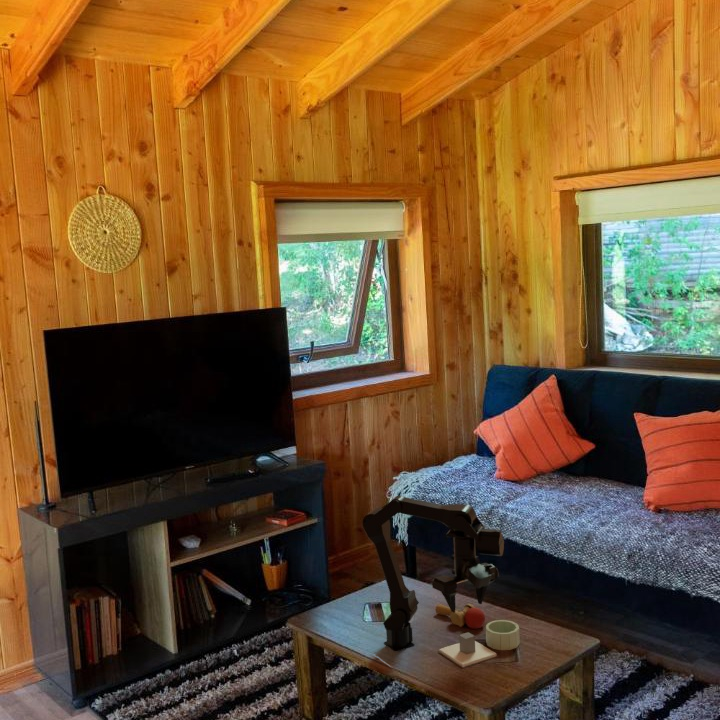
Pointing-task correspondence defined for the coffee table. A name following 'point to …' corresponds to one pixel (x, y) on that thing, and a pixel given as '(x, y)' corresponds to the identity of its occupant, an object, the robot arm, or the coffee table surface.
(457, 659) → the lid
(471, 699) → the coffee table surface
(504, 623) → the bowl
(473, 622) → the kendama
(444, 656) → the gray square plate
